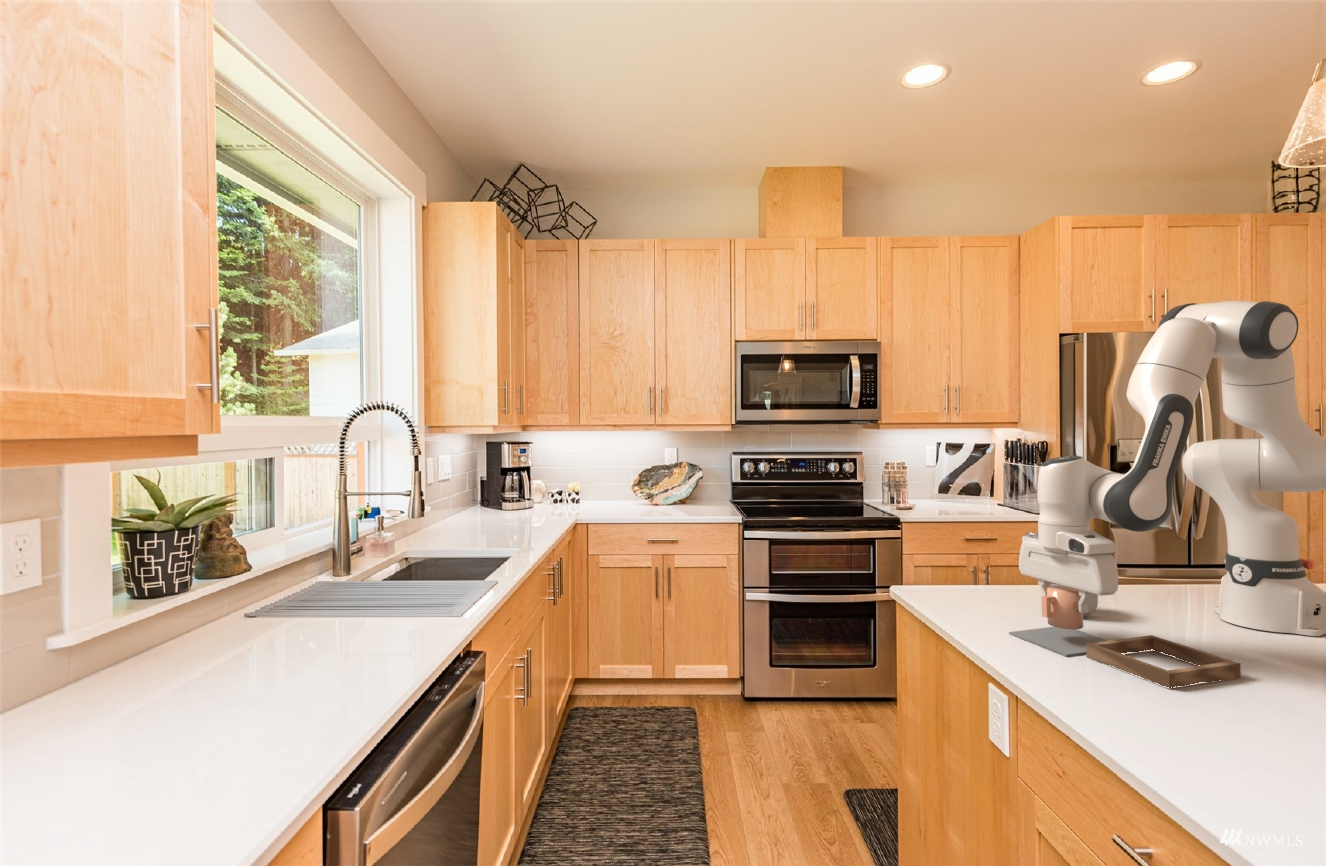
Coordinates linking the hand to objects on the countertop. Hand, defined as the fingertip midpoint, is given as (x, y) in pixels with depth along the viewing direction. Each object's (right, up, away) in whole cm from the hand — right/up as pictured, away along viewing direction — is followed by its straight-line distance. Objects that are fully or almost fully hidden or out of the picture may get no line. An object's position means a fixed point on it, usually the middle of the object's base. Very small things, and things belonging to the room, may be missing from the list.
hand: (1065, 607), depth 129 cm
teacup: (+13, -7, +20) cm, 25 cm away
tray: (+8, -7, -14) cm, 18 cm away
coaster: (0, -7, 0) cm, 7 cm away
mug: (0, -4, 0) cm, 4 cm away
